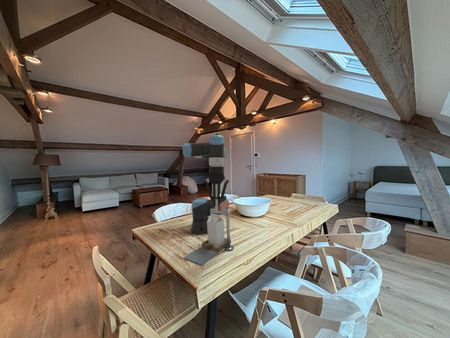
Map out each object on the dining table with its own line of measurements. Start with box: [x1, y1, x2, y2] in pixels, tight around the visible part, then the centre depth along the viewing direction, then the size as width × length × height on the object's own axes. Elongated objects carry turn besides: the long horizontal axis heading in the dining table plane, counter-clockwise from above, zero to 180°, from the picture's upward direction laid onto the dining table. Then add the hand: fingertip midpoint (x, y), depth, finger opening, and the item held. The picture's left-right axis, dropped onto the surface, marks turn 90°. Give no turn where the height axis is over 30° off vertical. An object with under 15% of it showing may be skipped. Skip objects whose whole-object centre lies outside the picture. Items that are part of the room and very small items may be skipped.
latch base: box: [224, 245, 235, 252], centre depth 106 cm, size 5×5×1 cm
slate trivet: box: [183, 246, 219, 266], centre depth 100 cm, size 13×13×1 cm
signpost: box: [210, 200, 232, 248], centre depth 103 cm, size 12×12×27 cm
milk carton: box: [207, 213, 226, 246], centre depth 110 cm, size 7×7×19 cm
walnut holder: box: [201, 237, 232, 253], centre depth 111 cm, size 12×12×2 cm
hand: (216, 212), depth 95 cm, fingers closed
